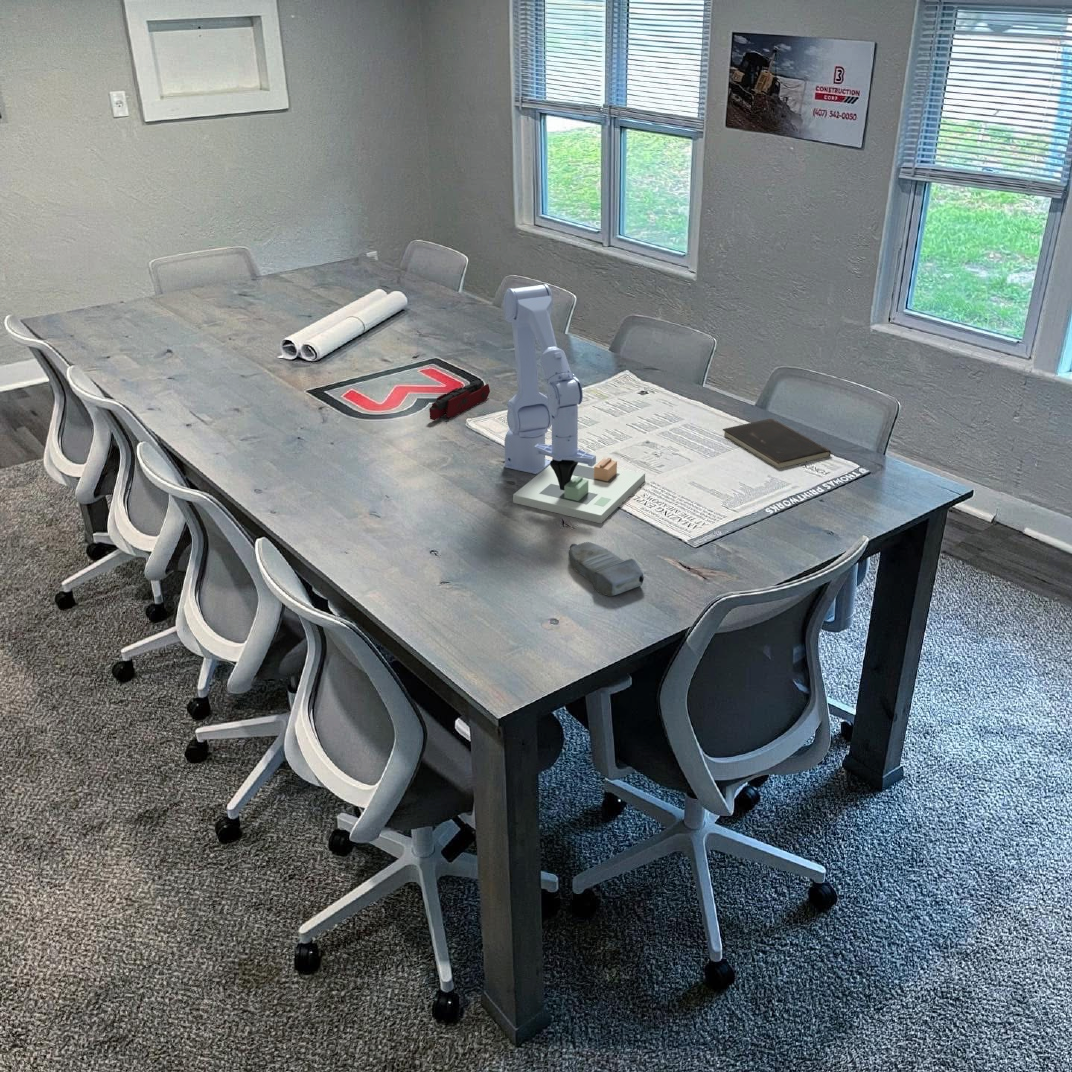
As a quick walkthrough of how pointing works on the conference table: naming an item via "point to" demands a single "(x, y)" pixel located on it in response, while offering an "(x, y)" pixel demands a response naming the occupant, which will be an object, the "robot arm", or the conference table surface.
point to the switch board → (590, 507)
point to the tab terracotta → (605, 469)
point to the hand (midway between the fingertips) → (564, 488)
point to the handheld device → (605, 568)
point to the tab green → (576, 488)
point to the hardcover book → (776, 443)
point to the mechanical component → (459, 400)
